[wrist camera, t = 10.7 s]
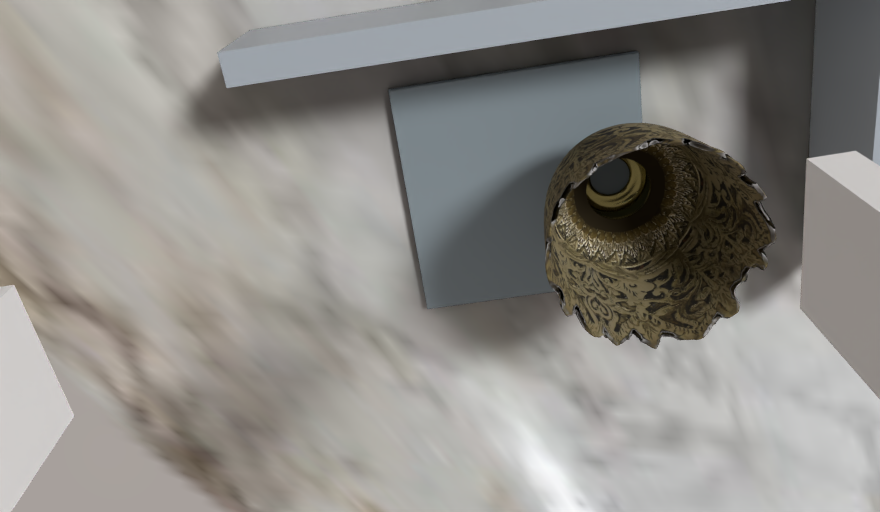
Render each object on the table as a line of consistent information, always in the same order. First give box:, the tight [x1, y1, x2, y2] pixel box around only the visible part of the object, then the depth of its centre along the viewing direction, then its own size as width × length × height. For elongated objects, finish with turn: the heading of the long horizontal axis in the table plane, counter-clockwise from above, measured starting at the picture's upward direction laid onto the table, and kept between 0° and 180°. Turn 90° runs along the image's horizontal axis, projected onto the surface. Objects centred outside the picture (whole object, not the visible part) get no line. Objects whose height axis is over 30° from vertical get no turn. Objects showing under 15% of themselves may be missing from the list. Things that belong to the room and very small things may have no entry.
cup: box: [544, 123, 776, 349], centre depth 29 cm, size 8×7×8 cm
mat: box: [389, 51, 642, 309], centre depth 33 cm, size 10×10×1 cm
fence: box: [217, 0, 880, 166], centre depth 30 cm, size 13×23×5 cm, turn 99°
